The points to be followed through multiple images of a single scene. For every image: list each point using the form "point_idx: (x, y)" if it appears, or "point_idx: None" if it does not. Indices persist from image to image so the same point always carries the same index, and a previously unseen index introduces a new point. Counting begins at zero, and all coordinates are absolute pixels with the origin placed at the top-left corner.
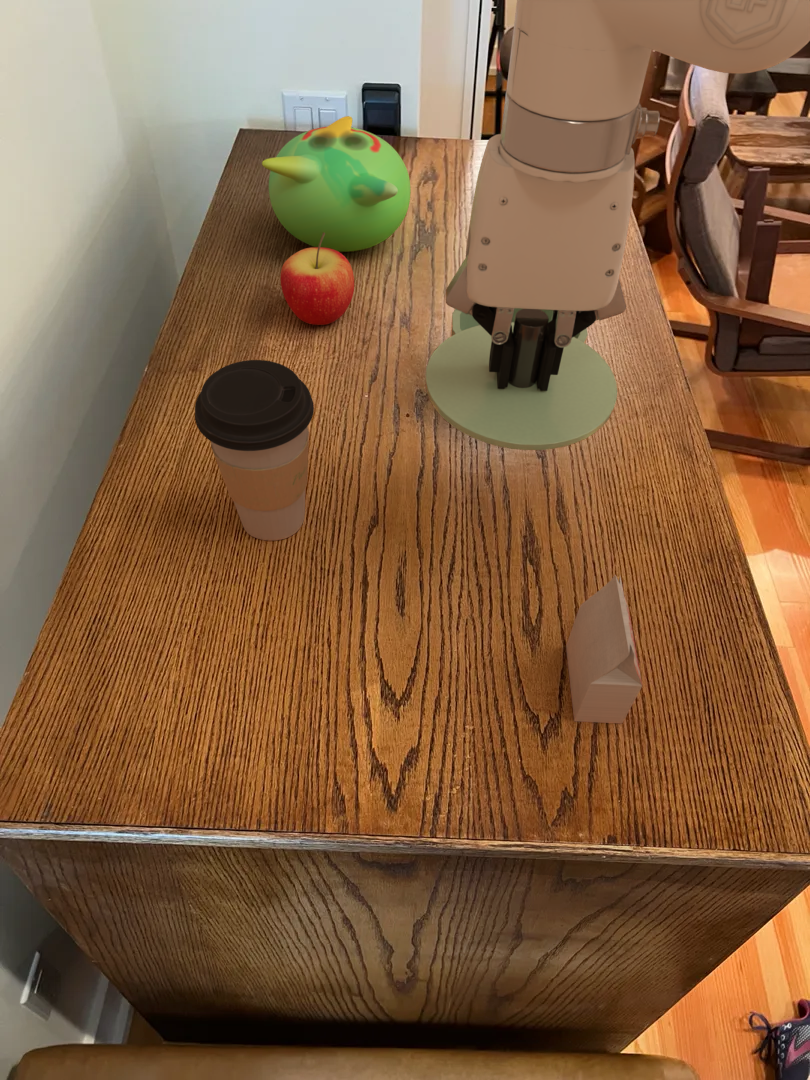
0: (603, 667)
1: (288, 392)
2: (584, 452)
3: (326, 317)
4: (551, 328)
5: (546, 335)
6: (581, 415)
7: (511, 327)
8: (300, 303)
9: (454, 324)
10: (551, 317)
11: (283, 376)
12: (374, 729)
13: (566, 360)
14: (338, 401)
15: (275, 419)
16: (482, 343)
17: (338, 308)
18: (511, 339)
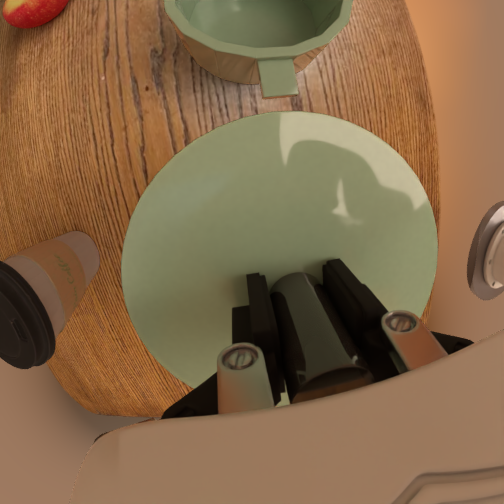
0: None
1: (17, 322)
2: (341, 104)
3: (51, 16)
4: (374, 368)
5: (360, 344)
6: None
7: (278, 342)
8: (23, 26)
9: (166, 2)
10: (383, 328)
11: (1, 304)
12: None
13: (378, 227)
14: (80, 96)
15: (34, 363)
16: (206, 210)
17: (57, 5)
18: (280, 379)
